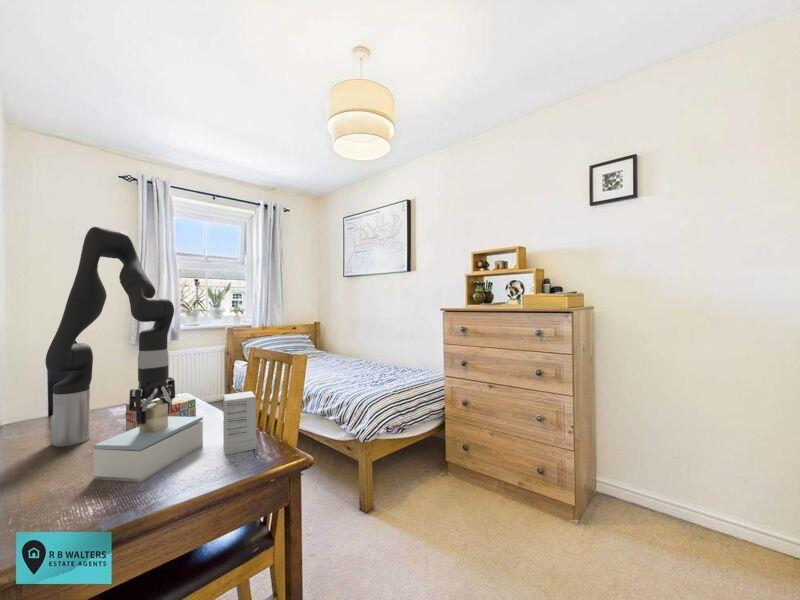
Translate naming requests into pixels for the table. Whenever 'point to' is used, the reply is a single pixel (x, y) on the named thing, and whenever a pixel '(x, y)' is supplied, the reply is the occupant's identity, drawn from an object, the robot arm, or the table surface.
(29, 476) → the table surface
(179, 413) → the stack of blocks
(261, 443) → the table surface
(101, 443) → the box lid
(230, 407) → the supplement box
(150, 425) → the beech block
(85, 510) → the table surface
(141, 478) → the storage box
